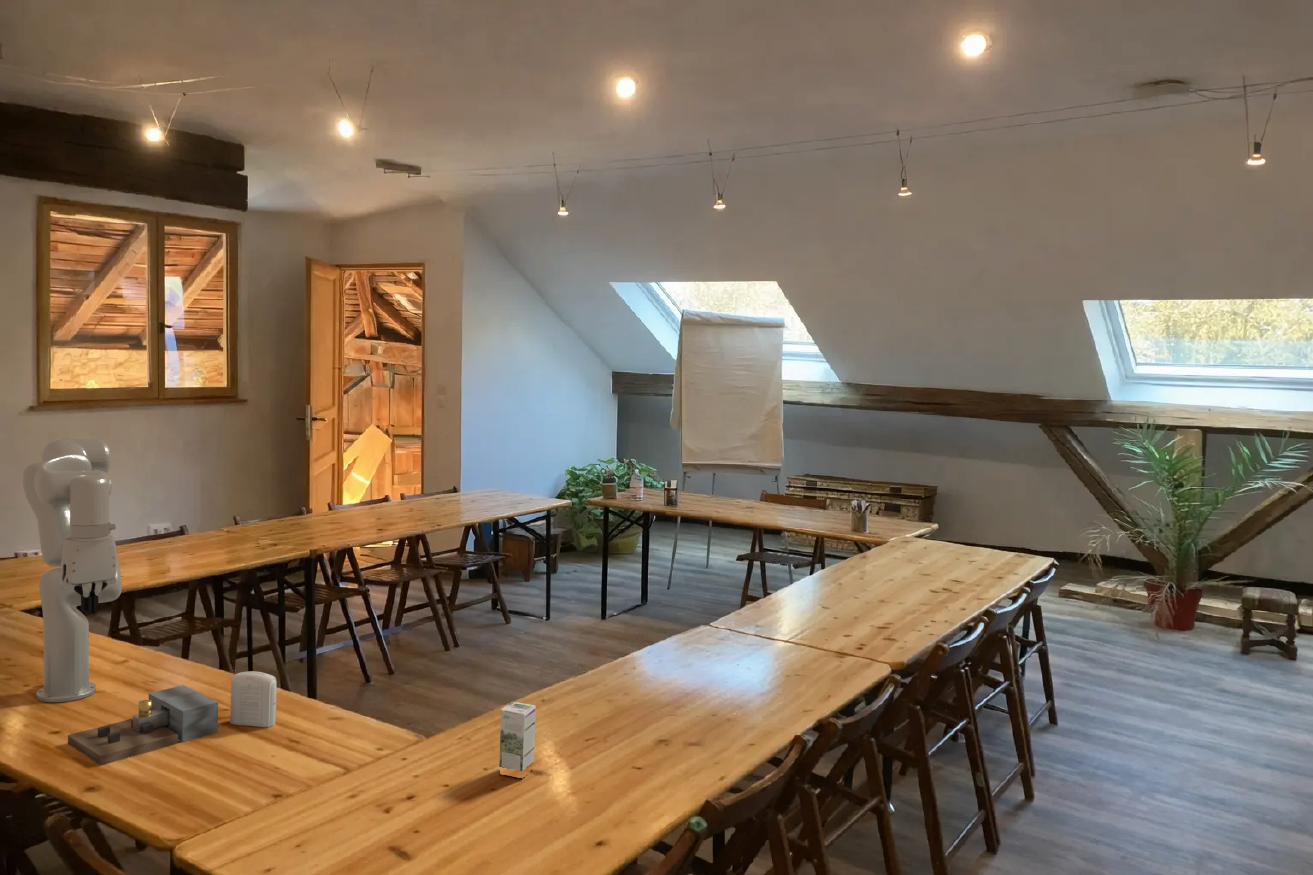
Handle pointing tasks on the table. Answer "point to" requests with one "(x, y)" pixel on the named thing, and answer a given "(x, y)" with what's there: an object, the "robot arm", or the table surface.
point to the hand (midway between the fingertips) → (89, 612)
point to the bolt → (150, 716)
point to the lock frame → (151, 727)
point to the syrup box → (517, 736)
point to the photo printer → (253, 699)
